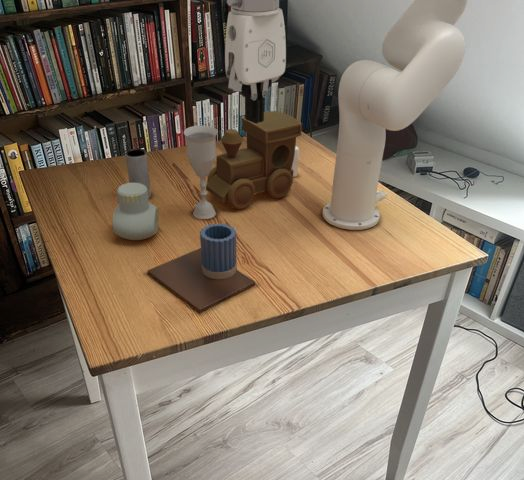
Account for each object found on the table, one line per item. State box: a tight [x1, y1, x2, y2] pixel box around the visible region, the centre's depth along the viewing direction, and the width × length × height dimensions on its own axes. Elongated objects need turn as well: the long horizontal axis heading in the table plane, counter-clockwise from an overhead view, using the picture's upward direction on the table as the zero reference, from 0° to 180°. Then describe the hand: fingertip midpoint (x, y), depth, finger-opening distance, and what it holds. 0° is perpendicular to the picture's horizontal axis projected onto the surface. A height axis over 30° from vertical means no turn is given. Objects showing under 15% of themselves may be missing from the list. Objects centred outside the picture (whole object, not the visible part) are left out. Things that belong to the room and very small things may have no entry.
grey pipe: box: [125, 148, 152, 199], centre depth 127 cm, size 4×4×10 cm
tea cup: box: [199, 222, 238, 279], centre depth 104 cm, size 8×7×7 cm
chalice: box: [183, 124, 219, 220], centre depth 119 cm, size 7×7×18 cm
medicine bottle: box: [291, 145, 300, 178], centre depth 138 cm, size 7×7×12 cm
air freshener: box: [112, 182, 160, 241], centre depth 114 cm, size 11×8×10 cm
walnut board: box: [147, 247, 256, 314], centre depth 105 cm, size 13×16×1 cm
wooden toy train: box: [205, 110, 303, 210], centre depth 127 cm, size 20×11×17 cm, turn 124°
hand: (254, 120), depth 100 cm, fingers closed
